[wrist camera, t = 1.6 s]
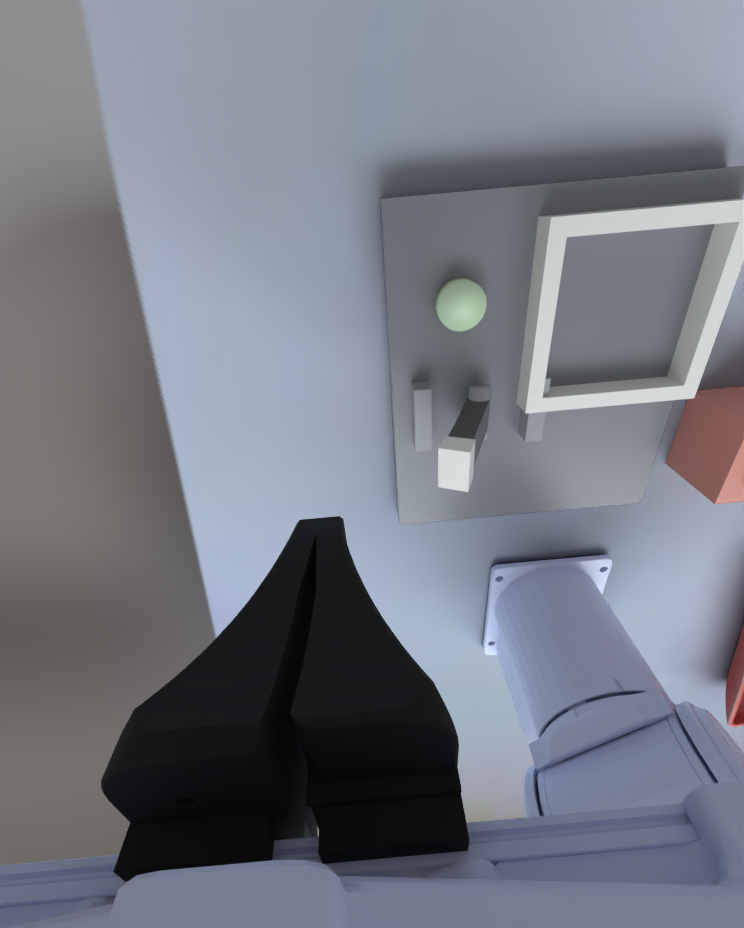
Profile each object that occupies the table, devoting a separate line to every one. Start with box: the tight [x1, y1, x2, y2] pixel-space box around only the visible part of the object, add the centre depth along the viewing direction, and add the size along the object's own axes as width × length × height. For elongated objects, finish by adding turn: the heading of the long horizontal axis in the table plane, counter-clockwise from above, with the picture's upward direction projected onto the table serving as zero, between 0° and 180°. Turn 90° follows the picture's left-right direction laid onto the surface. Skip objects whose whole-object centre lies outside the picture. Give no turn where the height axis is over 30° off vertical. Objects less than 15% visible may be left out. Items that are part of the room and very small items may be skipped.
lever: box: [438, 383, 491, 492], centre depth 18 cm, size 3×1×6 cm, turn 4°
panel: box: [380, 166, 744, 525], centre depth 20 cm, size 16×14×2 cm
